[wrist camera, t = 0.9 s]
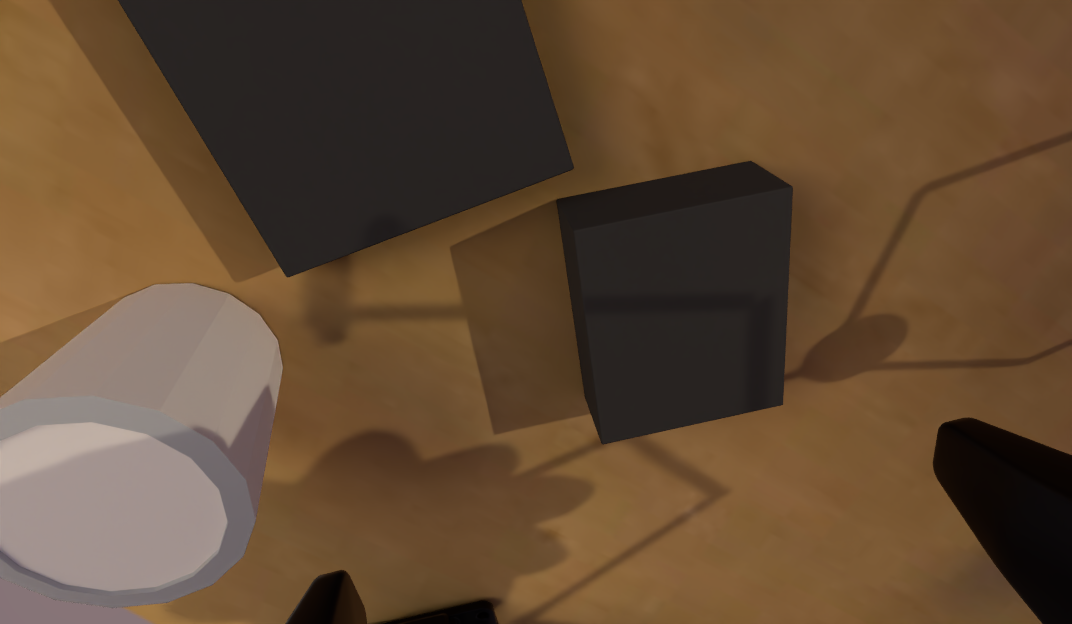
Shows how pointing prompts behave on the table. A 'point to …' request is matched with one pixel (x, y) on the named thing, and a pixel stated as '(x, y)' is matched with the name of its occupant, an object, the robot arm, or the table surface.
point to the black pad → (679, 297)
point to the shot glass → (139, 450)
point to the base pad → (358, 111)
